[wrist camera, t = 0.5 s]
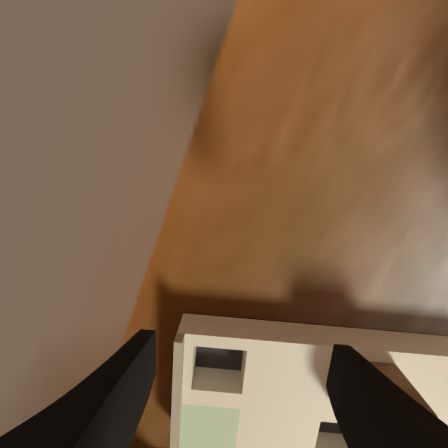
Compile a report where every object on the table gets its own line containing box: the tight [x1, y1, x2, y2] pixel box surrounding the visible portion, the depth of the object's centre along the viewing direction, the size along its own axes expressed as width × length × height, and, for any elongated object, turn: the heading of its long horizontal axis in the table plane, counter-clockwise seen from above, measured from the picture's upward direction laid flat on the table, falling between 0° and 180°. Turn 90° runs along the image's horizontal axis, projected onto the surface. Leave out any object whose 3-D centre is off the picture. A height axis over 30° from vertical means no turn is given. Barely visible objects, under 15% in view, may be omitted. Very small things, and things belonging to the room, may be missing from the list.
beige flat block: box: [170, 313, 448, 448], centre depth 21 cm, size 12×23×4 cm, turn 85°
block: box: [370, 362, 438, 417], centre depth 17 cm, size 4×4×4 cm
